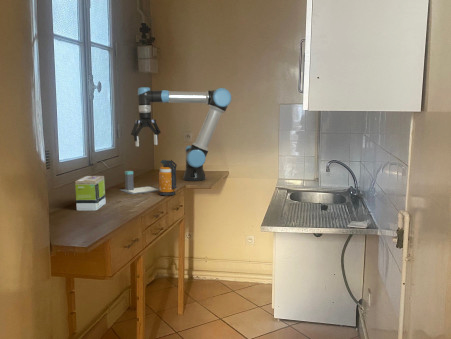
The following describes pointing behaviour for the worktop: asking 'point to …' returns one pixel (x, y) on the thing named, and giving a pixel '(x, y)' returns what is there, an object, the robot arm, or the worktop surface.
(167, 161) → the canister
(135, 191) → the paper
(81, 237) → the worktop surface
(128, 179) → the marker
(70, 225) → the worktop surface
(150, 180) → the worktop surface
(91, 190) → the tea box
